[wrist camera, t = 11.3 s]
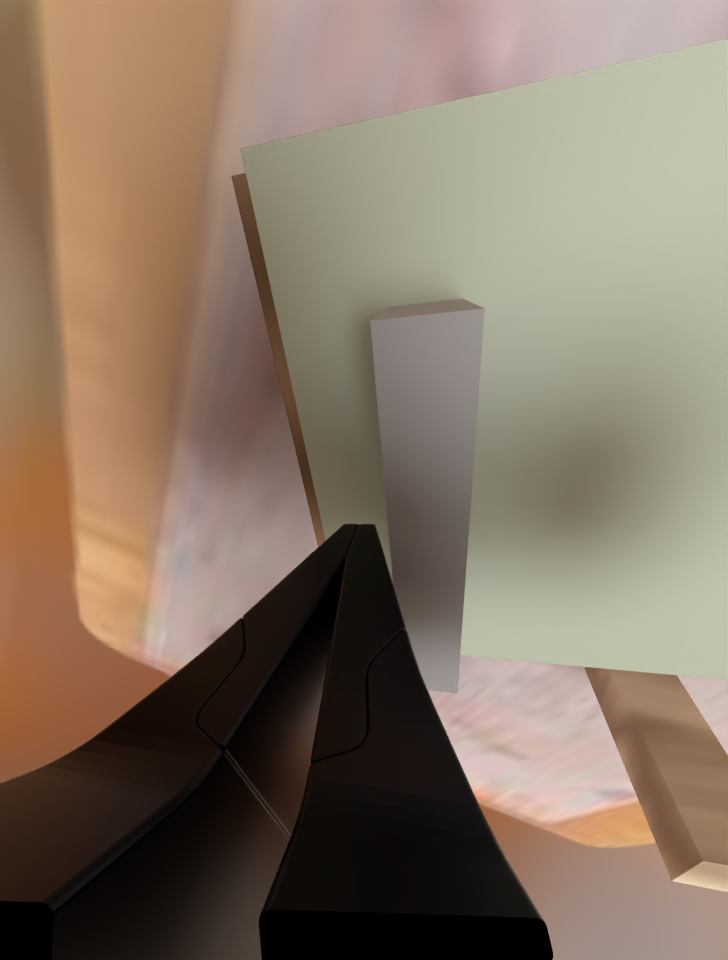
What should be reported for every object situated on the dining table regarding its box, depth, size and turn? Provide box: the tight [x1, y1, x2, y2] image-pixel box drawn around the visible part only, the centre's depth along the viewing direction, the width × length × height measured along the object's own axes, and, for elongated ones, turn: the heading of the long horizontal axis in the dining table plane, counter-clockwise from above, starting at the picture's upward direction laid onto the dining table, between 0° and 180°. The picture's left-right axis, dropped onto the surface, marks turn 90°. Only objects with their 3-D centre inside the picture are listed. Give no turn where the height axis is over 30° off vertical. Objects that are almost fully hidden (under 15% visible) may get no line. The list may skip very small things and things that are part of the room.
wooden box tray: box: [232, 173, 326, 547], centre depth 11 cm, size 16×25×4 cm, turn 96°
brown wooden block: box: [584, 667, 728, 892], centre depth 16 cm, size 3×3×9 cm
